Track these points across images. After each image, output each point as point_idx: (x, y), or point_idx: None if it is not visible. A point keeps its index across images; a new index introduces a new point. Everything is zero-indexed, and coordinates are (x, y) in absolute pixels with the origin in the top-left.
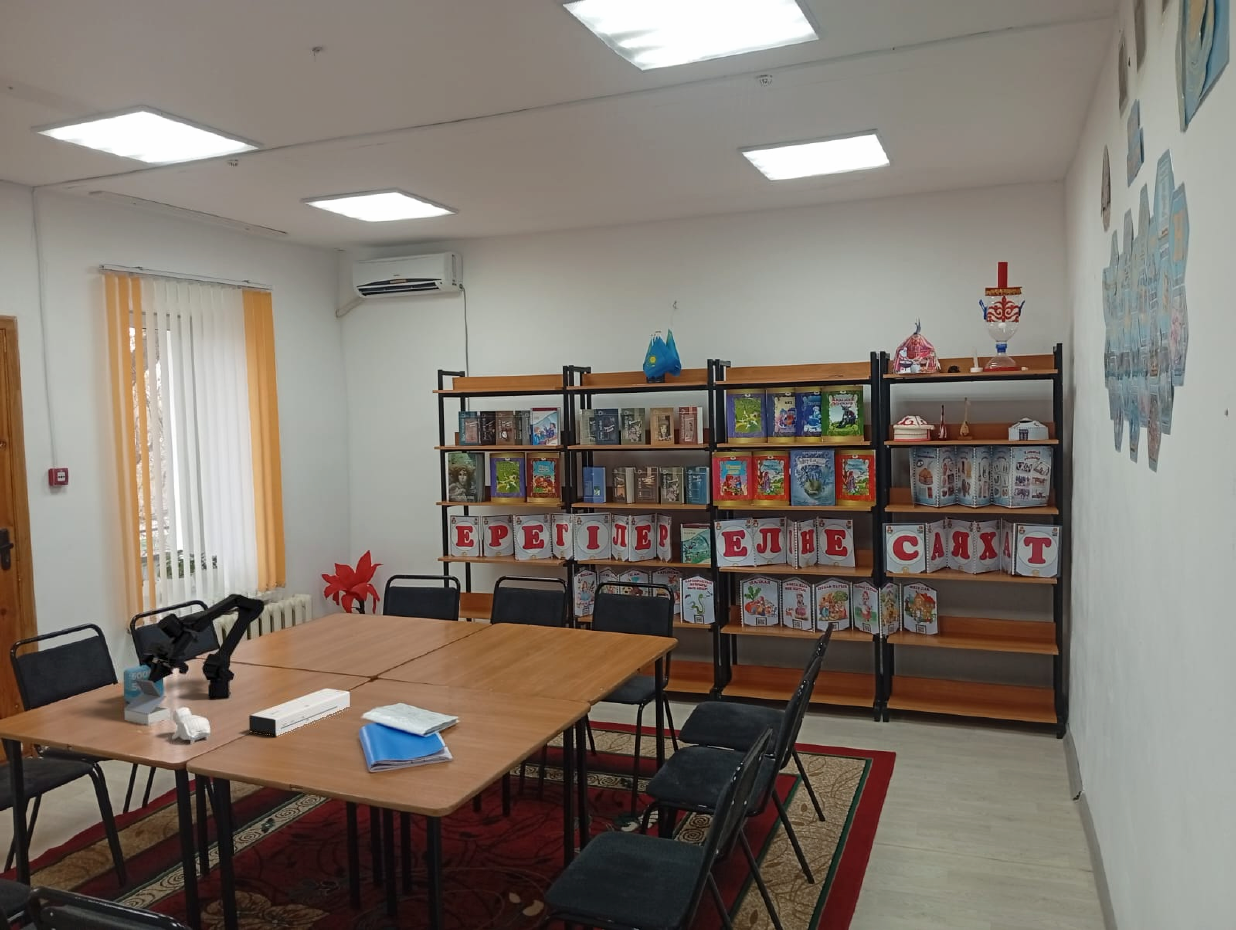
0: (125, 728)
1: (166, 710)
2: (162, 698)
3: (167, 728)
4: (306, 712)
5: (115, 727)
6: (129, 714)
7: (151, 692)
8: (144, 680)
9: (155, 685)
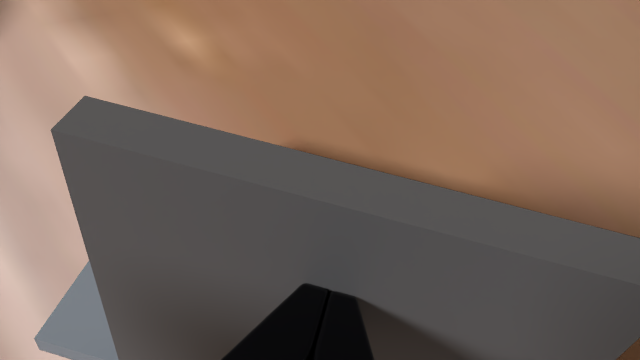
0: (342, 72)
1: None
2: (82, 298)
3: (9, 131)
4: None
5: (439, 78)
6: None
7: None
8: (336, 187)
9: (80, 228)
